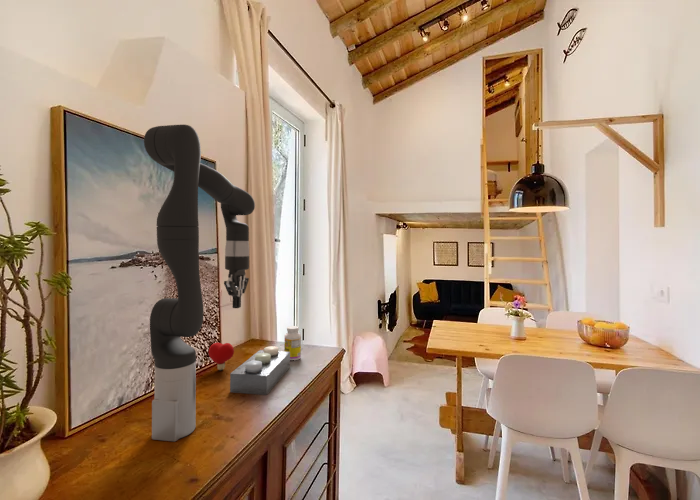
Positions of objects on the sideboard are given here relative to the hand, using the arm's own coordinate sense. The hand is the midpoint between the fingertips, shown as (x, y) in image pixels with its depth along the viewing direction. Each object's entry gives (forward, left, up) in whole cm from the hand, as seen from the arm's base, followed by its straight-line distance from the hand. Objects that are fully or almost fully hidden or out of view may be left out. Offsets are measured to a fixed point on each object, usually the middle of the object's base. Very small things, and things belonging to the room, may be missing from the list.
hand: (236, 307), depth 113 cm
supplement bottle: (+29, -10, -26) cm, 41 cm away
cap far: (+15, -6, -23) cm, 28 cm away
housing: (+7, -6, -26) cm, 28 cm away
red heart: (+12, +12, -26) cm, 31 cm away
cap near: (-1, -6, -23) cm, 24 cm away
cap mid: (+7, -6, -23) cm, 25 cm away
